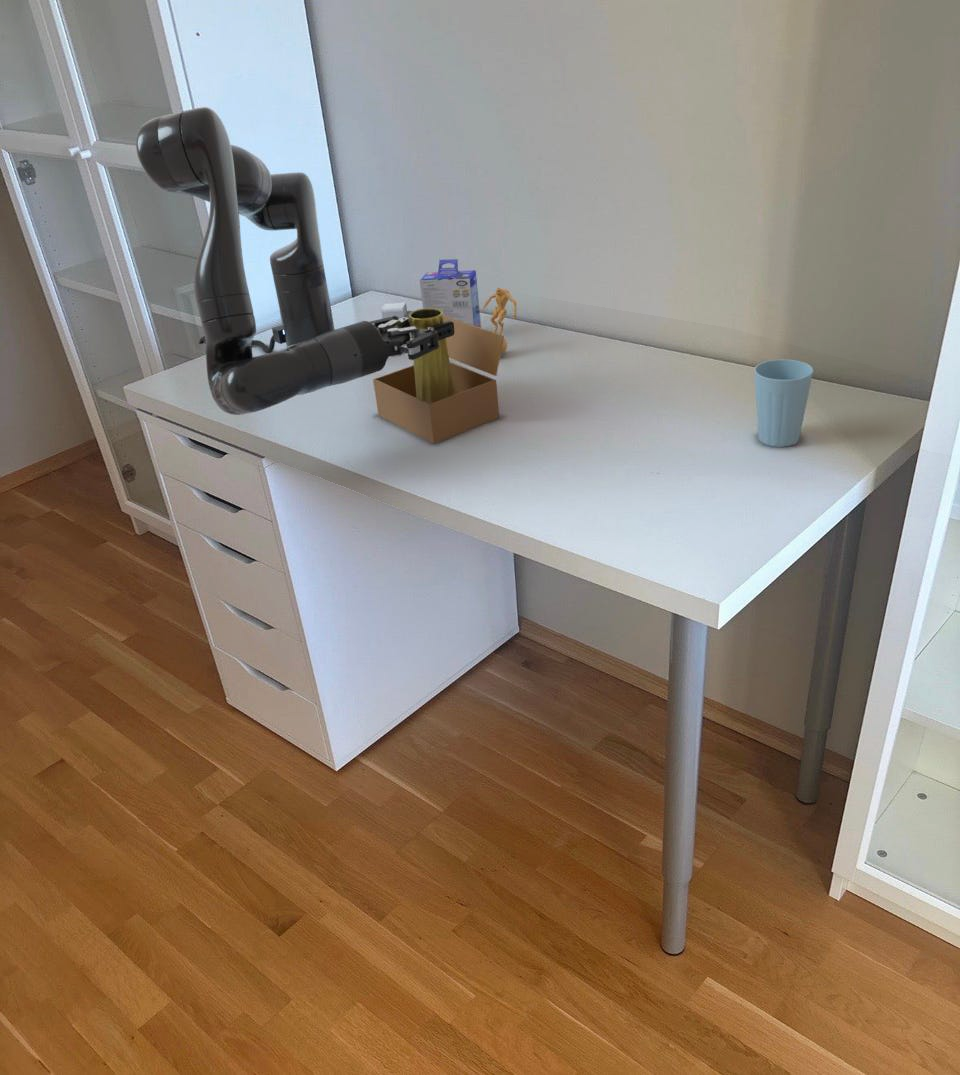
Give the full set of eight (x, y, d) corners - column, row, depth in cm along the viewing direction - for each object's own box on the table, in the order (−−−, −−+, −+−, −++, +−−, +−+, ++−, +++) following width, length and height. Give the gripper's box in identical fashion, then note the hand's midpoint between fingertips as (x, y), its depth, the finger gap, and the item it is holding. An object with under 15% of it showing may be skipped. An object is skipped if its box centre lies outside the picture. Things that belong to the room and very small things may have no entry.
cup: (748, 449, 138) (752, 378, 133) (752, 426, 144) (756, 358, 139) (805, 452, 136) (811, 381, 130) (807, 428, 142) (813, 359, 136)
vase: (426, 412, 153) (415, 322, 145) (410, 399, 157) (399, 312, 150) (461, 402, 155) (452, 314, 147) (444, 390, 160) (435, 304, 152)
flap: (442, 315, 160) (444, 315, 161) (436, 353, 162) (437, 353, 162) (502, 335, 149) (504, 335, 150) (495, 375, 151) (496, 375, 151)
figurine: (472, 355, 180) (466, 290, 174) (495, 345, 183) (490, 281, 177) (505, 363, 175) (500, 297, 168) (528, 353, 178) (524, 287, 172)
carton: (378, 415, 160) (372, 379, 157) (441, 392, 166) (437, 356, 163) (434, 443, 149) (429, 405, 145) (499, 417, 155) (496, 379, 152)
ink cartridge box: (483, 332, 190) (476, 256, 183) (477, 342, 185) (469, 265, 178) (433, 333, 192) (424, 258, 185) (426, 343, 188) (416, 267, 180)
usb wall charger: (387, 322, 201) (385, 302, 199) (421, 320, 200) (418, 301, 198) (383, 328, 197) (381, 309, 195) (418, 327, 196) (415, 307, 194)
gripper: (369, 340, 136) (467, 308, 144) (317, 318, 146) (412, 290, 154) (376, 391, 140) (471, 357, 148) (325, 366, 150) (417, 336, 158)
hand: (440, 323), depth 151 cm, fingers closed on vase, 5 cm apart
